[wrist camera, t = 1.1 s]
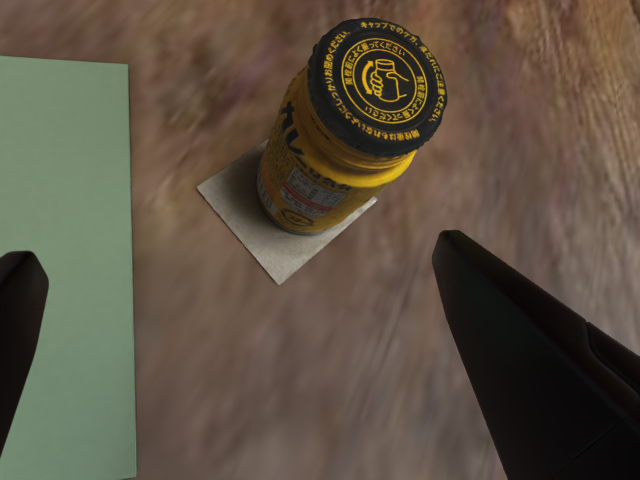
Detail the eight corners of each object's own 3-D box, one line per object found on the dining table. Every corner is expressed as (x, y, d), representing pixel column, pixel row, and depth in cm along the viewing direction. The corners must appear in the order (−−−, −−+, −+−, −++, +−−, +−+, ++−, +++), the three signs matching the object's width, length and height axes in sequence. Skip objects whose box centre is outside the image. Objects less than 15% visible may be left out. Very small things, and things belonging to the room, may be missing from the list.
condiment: (376, 200, 27) (503, 105, 16) (278, 285, 24) (347, 244, 13) (303, 114, 27) (378, -45, 16) (196, 189, 24) (191, 60, 13)
